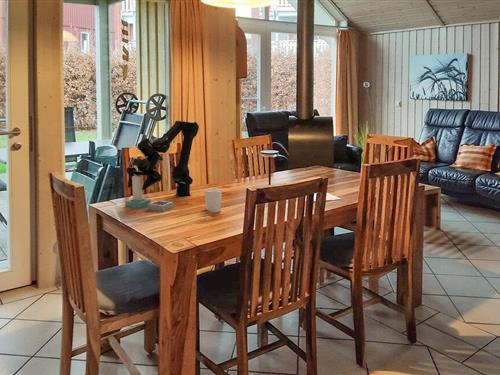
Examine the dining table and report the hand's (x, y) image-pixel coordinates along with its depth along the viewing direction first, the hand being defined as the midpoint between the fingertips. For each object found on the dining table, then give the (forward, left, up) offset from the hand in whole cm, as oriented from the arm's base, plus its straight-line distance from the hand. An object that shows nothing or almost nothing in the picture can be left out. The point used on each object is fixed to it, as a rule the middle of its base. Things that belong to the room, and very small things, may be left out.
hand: (135, 188), depth 245 cm
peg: (-1, -1, -8) cm, 9 cm away
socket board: (-6, +4, -10) cm, 12 cm away
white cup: (-33, +17, -10) cm, 39 cm away
